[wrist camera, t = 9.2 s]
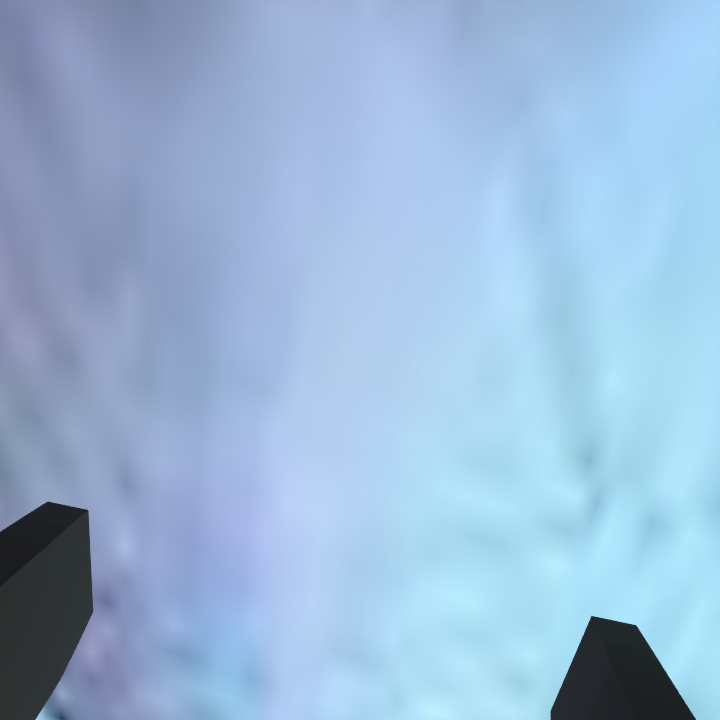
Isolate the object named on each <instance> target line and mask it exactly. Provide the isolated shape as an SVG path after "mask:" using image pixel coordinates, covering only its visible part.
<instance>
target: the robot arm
mask: <svg viewBox="0 0 720 720" xmlns="http://www.w3.org/2000/svg"><path fill="white" fill-rule="evenodd" d="M92 613H93V599H92V578H91V557H90V536H89V515H88V510H85V509H80V508H76V507H71V506H66V505H61V504H57V503H52V502H46V503H45V504H43V505H41V506H40V507H38V508H37V509H35V510H34V511H32V512H30V513H29V514H27V515H26V516H24V517H23V518H21V519H19V520H18V521H16V522H15V523H13V524H12V525H10V526H9V527H7V528H6V529H4V530H2V531H1V532H0V720H35V719H36V718H37V716H38V715H39V713H40V711H41V710H42V708H43V707H44V705H45V704H46V702H47V700H48V699H49V697H50V695H51V694H52V692H53V691H54V689H55V687H56V686H57V684H58V682H59V681H60V679H61V677H62V675H63V673H64V671H65V669H66V667H67V665H68V663H69V661H70V659H71V657H72V655H73V653H74V651H75V649H76V647H77V645H78V643H79V641H80V638H81V636H82V634H83V632H84V630H85V628H86V626H87V624H88V621H89V619H90V617H91V615H92ZM551 720H696V719H695V717H694V716H693V714H692V712H691V711H690V709H689V708H688V706H687V705H686V703H685V702H684V700H683V698H682V697H681V695H680V694H679V692H678V690H677V689H676V687H675V686H674V684H673V683H672V681H671V679H670V678H669V676H668V675H667V673H666V671H665V670H664V668H663V667H662V665H661V663H660V662H659V660H658V659H657V657H656V656H655V654H654V652H653V651H652V649H651V648H650V646H649V644H648V643H647V641H646V640H645V638H644V637H643V635H642V634H641V632H640V630H639V629H638V627H637V626H636V625H632V624H627V623H623V622H618V621H613V620H608V619H604V618H599V617H594V616H591V619H590V621H589V623H588V626H587V628H586V630H585V633H584V635H583V637H582V640H581V642H580V644H579V647H578V649H577V651H576V654H575V656H574V658H573V661H572V663H571V665H570V667H569V670H568V672H567V674H566V677H565V679H564V681H563V684H562V686H561V688H560V691H559V693H558V695H557V698H556V700H555V702H554V705H553V707H552V709H551Z"/></svg>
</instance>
